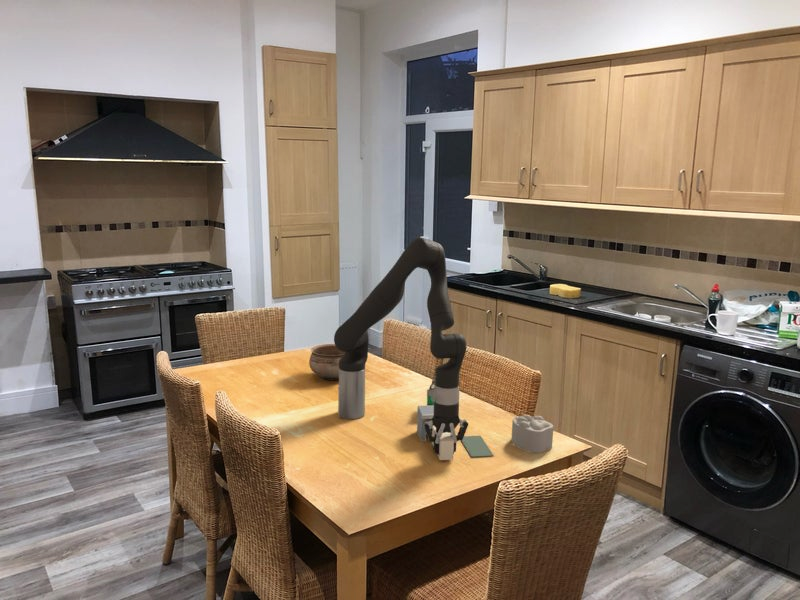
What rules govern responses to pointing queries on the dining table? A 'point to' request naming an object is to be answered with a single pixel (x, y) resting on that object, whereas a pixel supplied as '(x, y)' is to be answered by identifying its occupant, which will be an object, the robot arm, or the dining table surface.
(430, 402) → the food container
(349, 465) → the dining table surface
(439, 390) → the robot arm
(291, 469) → the dining table surface
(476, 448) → the rubber mat
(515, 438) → the lumpy-topped squat cylinder
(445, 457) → the tall cream rectangular prism
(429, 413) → the dispenser sleeve
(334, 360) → the cooking pot
